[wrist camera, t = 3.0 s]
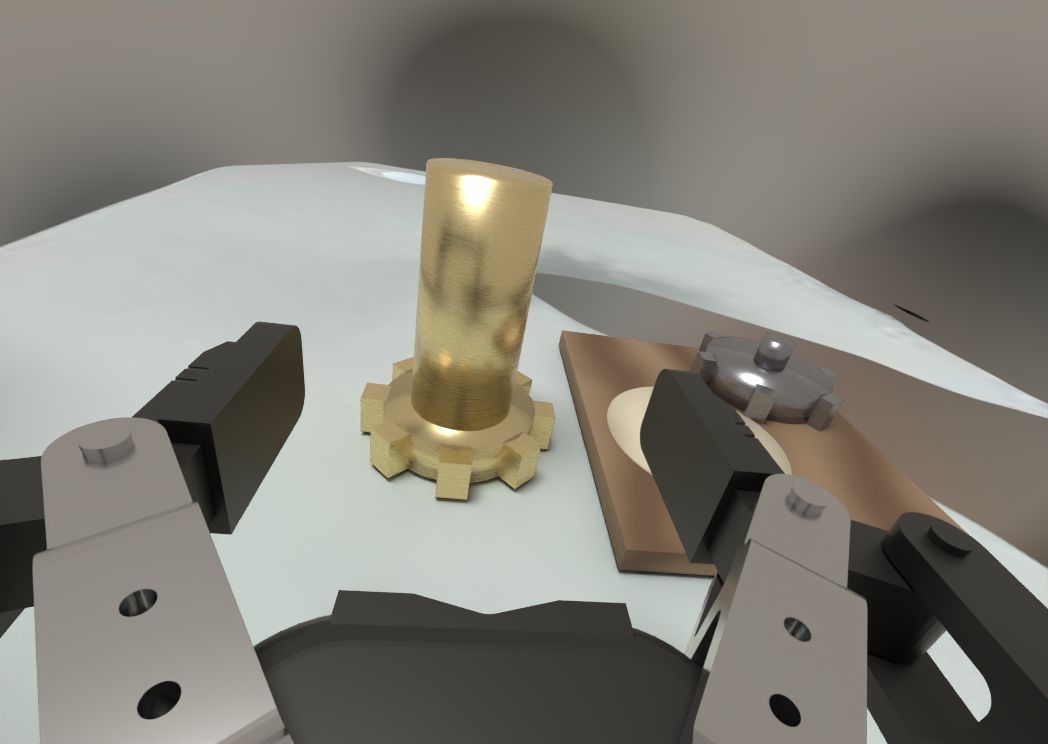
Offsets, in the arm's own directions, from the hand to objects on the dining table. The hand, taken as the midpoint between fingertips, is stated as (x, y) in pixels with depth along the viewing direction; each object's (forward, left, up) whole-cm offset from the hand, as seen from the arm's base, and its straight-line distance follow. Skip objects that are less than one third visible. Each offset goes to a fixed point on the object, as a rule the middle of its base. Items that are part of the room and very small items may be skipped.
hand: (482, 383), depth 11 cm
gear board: (+16, +13, -10) cm, 23 cm away
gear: (+20, +18, -9) cm, 28 cm away
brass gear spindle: (0, +11, -10) cm, 15 cm away
